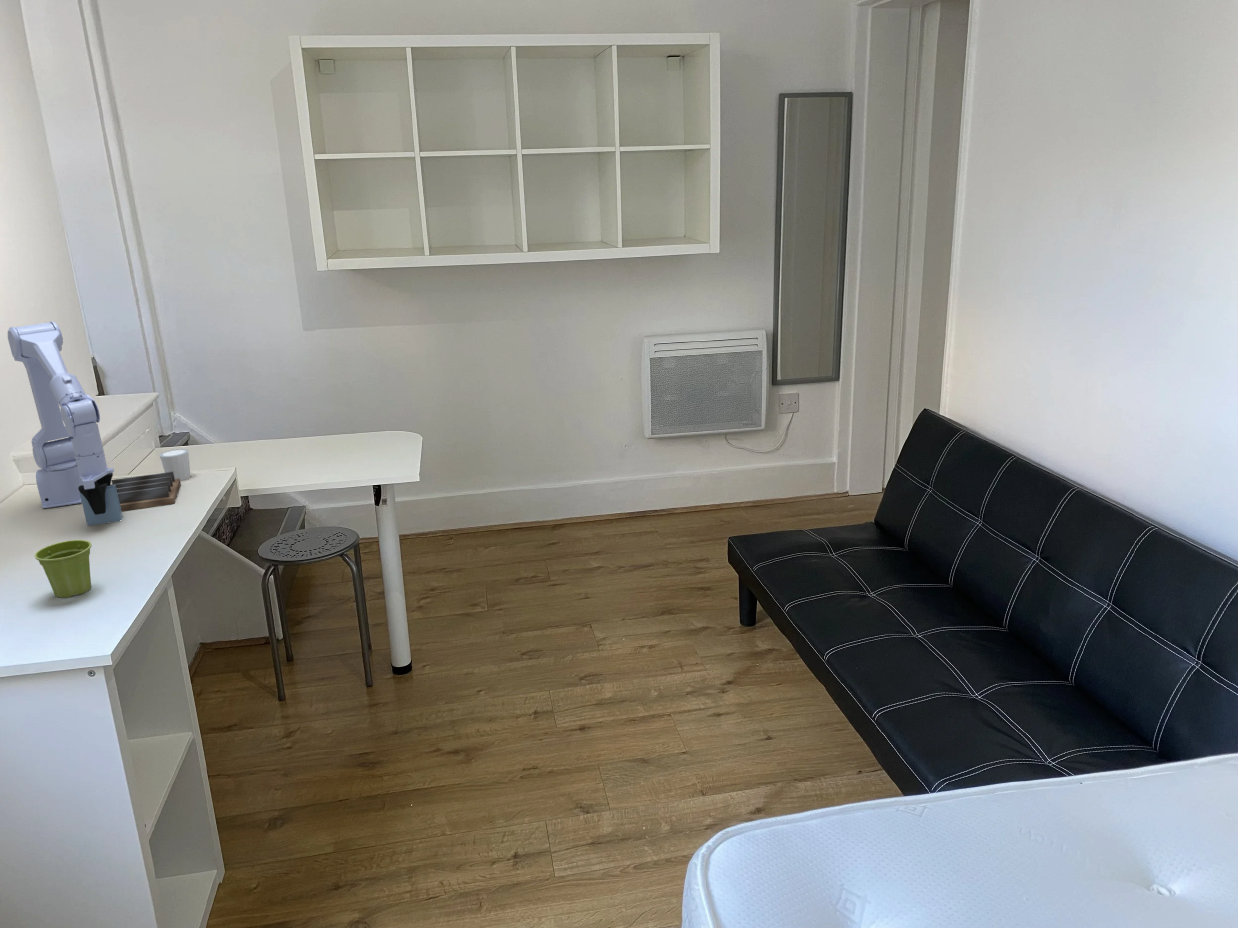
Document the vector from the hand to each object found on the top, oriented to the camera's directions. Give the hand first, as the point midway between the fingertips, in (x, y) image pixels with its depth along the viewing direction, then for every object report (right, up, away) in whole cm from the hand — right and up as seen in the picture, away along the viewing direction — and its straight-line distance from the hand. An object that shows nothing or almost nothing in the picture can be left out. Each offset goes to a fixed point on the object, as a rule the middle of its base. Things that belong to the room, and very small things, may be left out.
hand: (102, 509), depth 214 cm
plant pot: (+14, -14, -36) cm, 41 cm away
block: (0, -3, +1) cm, 3 cm away
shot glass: (+3, +7, +30) cm, 31 cm away
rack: (+1, +2, +15) cm, 16 cm away
